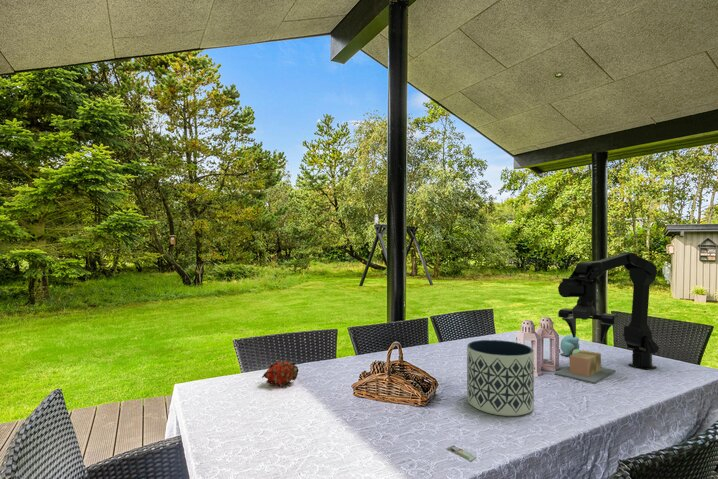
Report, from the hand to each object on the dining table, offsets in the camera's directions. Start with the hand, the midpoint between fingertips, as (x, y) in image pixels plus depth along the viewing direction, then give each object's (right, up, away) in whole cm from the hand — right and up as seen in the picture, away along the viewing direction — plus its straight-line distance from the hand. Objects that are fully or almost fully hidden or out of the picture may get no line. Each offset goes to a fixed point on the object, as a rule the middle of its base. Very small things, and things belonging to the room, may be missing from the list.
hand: (587, 339), depth 146 cm
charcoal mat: (-2, -12, -2) cm, 12 cm away
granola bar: (-61, -11, -57) cm, 84 cm away
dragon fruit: (-109, -12, -14) cm, 110 cm away
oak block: (+3, -8, +2) cm, 9 cm away
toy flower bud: (+6, -12, +19) cm, 23 cm away
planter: (-42, -11, -30) cm, 53 cm away
